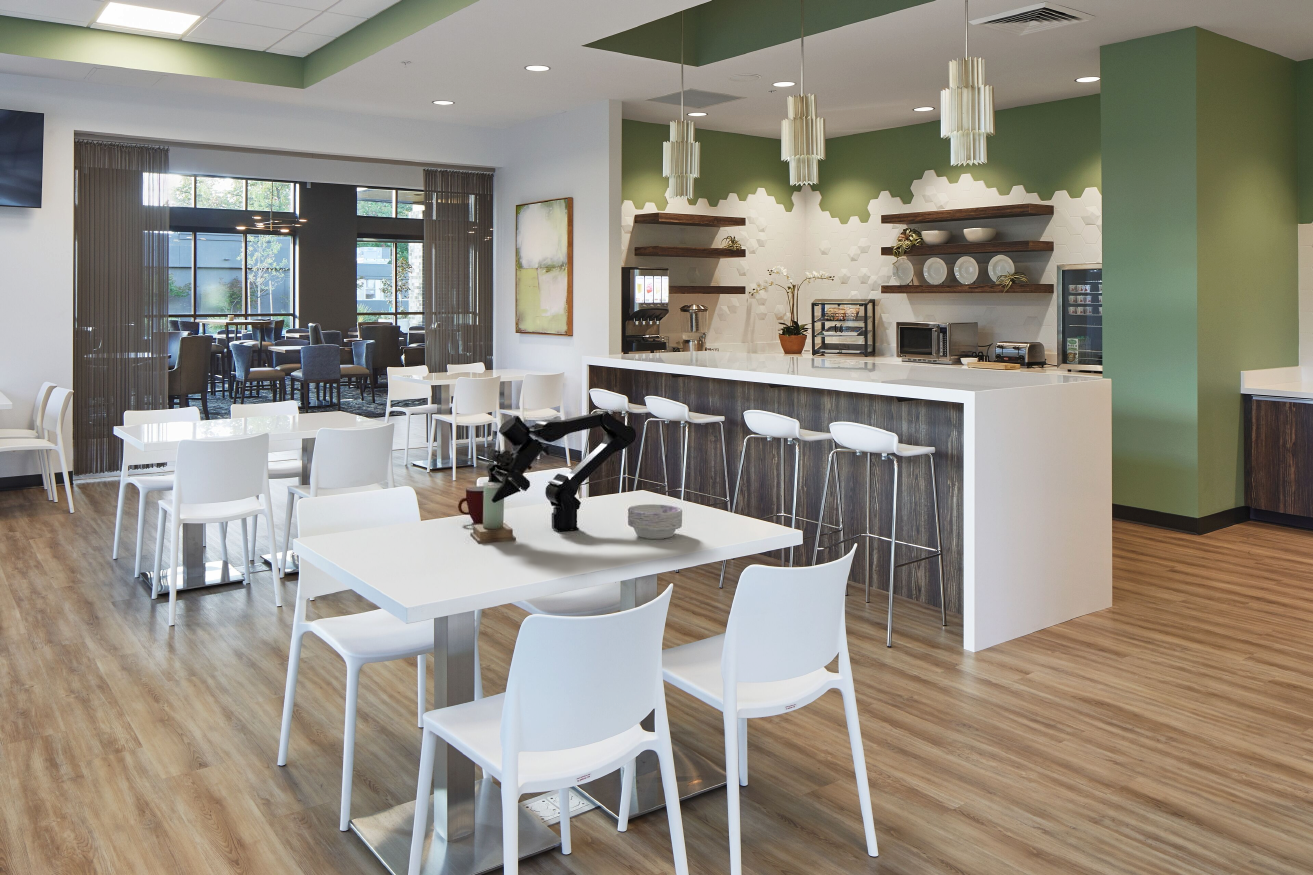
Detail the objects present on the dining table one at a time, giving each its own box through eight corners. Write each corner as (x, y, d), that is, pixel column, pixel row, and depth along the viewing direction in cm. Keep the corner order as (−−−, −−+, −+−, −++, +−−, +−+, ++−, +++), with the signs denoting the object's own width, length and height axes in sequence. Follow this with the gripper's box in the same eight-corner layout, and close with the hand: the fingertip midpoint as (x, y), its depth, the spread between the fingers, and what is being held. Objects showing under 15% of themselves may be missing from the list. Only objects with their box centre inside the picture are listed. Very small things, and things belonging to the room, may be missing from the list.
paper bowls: (690, 533, 283) (690, 505, 282) (668, 544, 269) (668, 515, 268) (642, 528, 289) (642, 501, 288) (618, 538, 275) (618, 510, 274)
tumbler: (505, 524, 278) (506, 482, 276) (502, 529, 272) (503, 485, 270) (483, 524, 277) (484, 481, 276) (480, 528, 271) (481, 485, 270)
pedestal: (506, 532, 282) (506, 522, 281) (515, 540, 272) (515, 529, 272) (470, 535, 278) (470, 524, 277) (478, 543, 268) (478, 532, 268)
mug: (465, 526, 289) (464, 492, 288) (454, 521, 295) (453, 488, 294) (498, 522, 295) (498, 489, 293) (487, 517, 301) (486, 485, 300)
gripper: (491, 434, 281) (455, 476, 277) (518, 441, 266) (480, 486, 261) (517, 459, 286) (482, 501, 282) (545, 468, 271) (509, 512, 266)
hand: (487, 499), depth 273 cm, fingers open, 7 cm apart
